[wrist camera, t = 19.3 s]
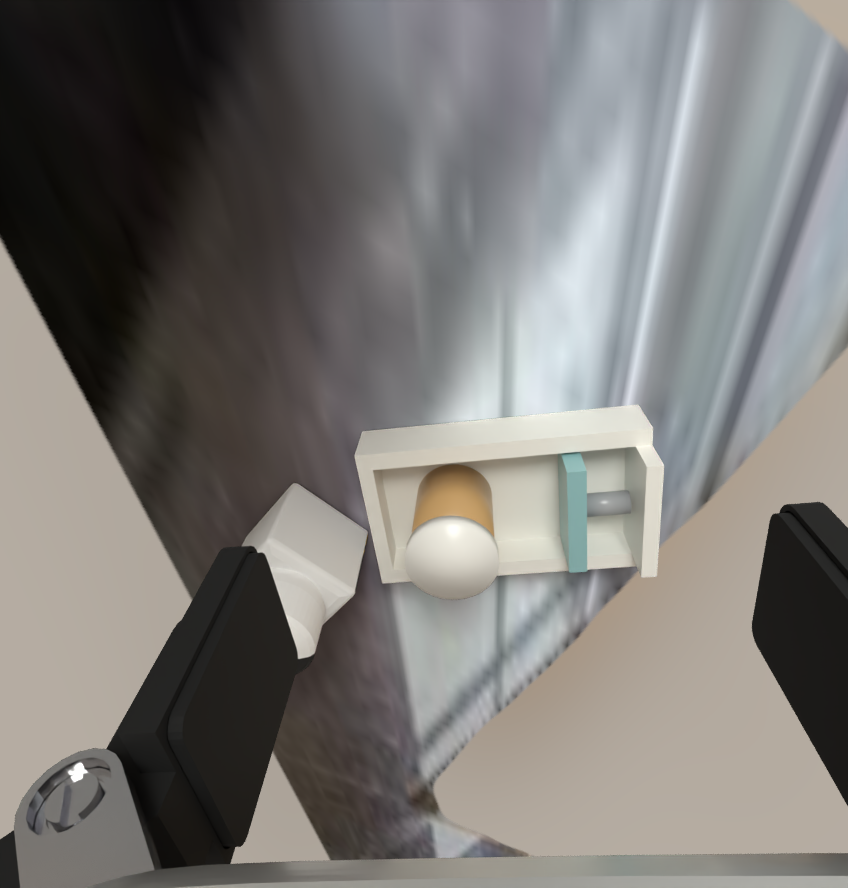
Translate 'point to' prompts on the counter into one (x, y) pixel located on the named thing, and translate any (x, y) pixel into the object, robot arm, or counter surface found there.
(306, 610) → the medicine bottle
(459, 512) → the jar
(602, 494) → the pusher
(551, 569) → the lane
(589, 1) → the counter surface
